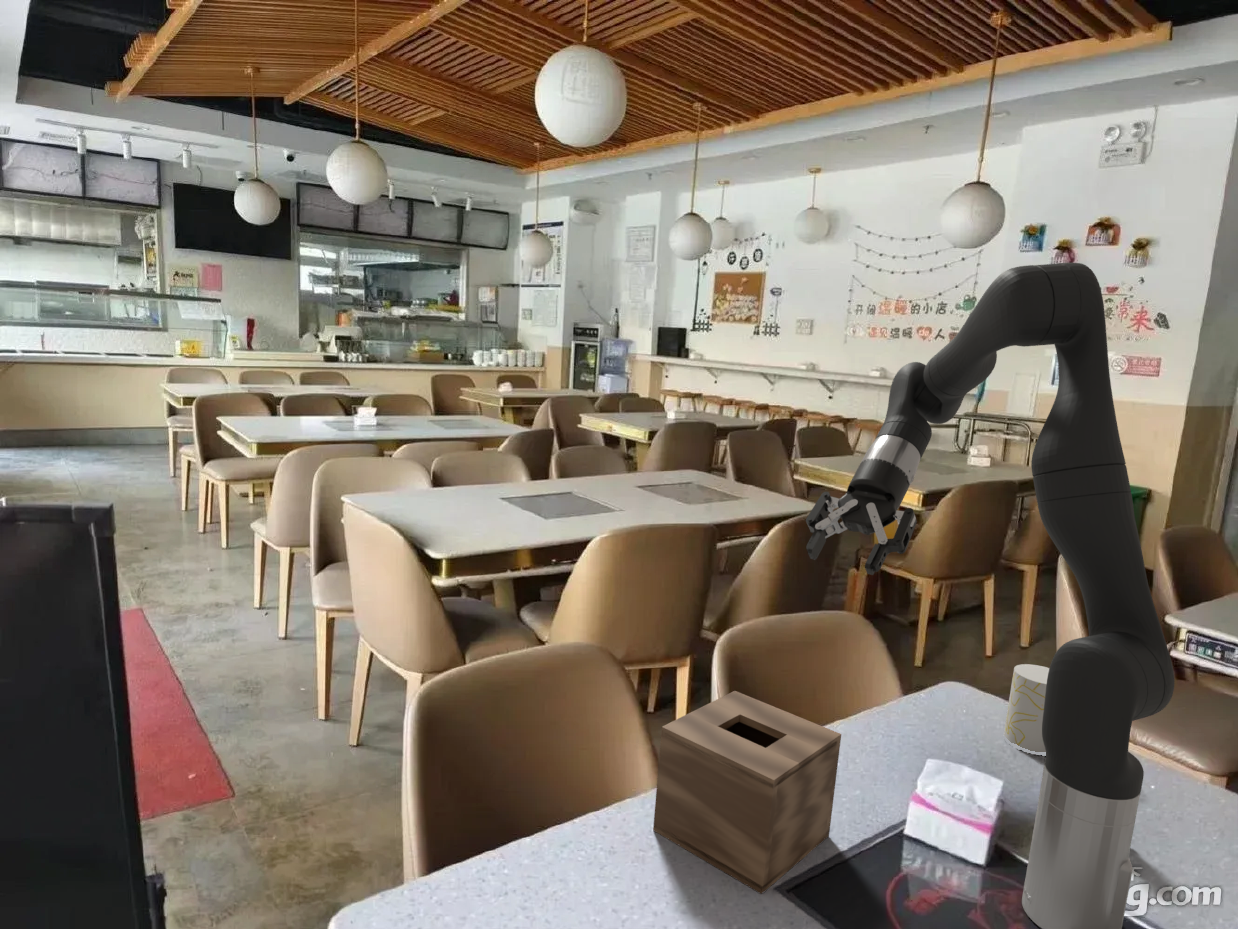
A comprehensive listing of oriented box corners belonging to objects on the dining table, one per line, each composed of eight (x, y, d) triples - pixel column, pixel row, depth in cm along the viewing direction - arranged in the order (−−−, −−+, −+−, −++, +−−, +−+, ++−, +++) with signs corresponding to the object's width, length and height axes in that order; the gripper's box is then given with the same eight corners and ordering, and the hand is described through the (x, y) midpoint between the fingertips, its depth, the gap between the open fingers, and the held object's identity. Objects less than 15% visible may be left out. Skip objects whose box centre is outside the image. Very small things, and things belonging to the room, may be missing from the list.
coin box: (725, 784, 115) (734, 690, 112) (828, 836, 104) (841, 734, 102) (653, 830, 103) (661, 726, 101) (761, 894, 92) (773, 780, 90)
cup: (992, 733, 136) (1002, 665, 134) (1031, 729, 138) (1042, 662, 137) (1029, 758, 128) (1041, 687, 126) (1070, 754, 131) (1082, 683, 129)
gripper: (833, 449, 120) (785, 536, 113) (929, 465, 111) (883, 560, 104) (845, 482, 125) (800, 566, 118) (938, 499, 116) (895, 592, 109)
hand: (839, 563), depth 111 cm, fingers open, 8 cm apart
